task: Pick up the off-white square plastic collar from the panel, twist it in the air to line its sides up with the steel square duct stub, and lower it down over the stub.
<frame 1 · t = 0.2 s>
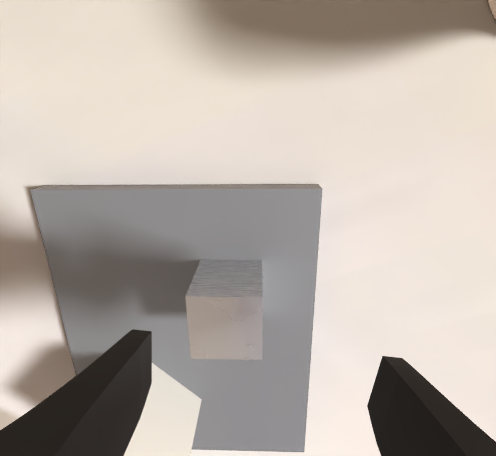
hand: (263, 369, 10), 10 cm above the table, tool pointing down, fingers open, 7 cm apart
duct stub: (233, 277, 20), resting on duct panel
collar: (144, 398, 22), point 1 cm above the table, touching duct panel
duct panel: (191, 328, 21), on the table
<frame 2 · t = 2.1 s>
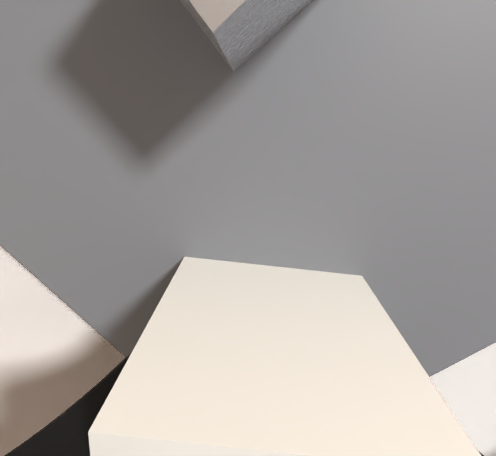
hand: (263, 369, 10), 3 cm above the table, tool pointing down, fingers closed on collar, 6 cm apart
collar: (262, 339, 11), point 1 cm above the table, touching duct panel, gripper
duct panel: (251, 161, 10), on the table
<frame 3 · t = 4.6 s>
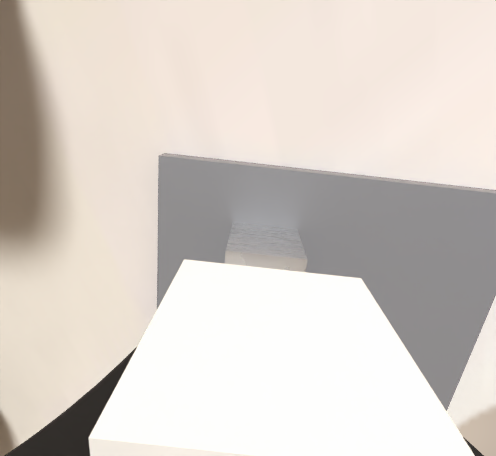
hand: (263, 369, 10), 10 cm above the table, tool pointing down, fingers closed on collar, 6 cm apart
duct stub: (261, 247, 19), resting on duct panel
collar: (262, 341, 11), point 8 cm above the table, touching gripper
duct panel: (316, 296, 20), on the table
when the fingers open (4 cm above the table, at t = 7.1 s): collar drops 1 cm, resting on duct panel.
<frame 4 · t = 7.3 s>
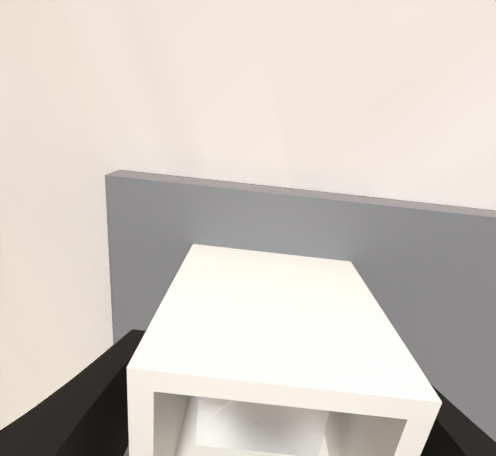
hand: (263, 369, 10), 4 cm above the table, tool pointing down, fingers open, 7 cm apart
duct stub: (262, 300, 13), resting on duct panel
collar: (262, 319, 12), point 1 cm above the table, touching duct panel
duct panel: (340, 365, 14), on the table
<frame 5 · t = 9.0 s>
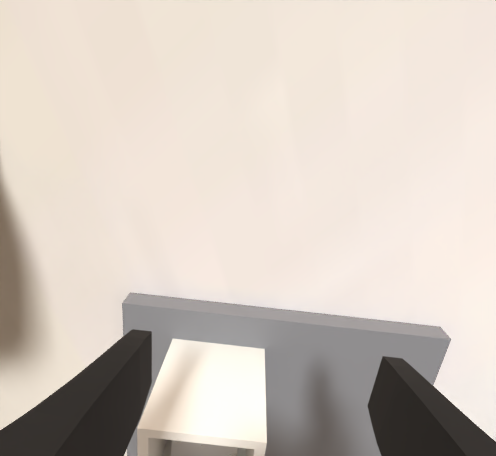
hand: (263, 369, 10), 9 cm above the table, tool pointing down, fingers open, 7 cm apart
duct stub: (217, 364, 22), resting on duct panel
collar: (215, 379, 20), point 1 cm above the table, touching duct panel
duct panel: (269, 403, 22), on the table
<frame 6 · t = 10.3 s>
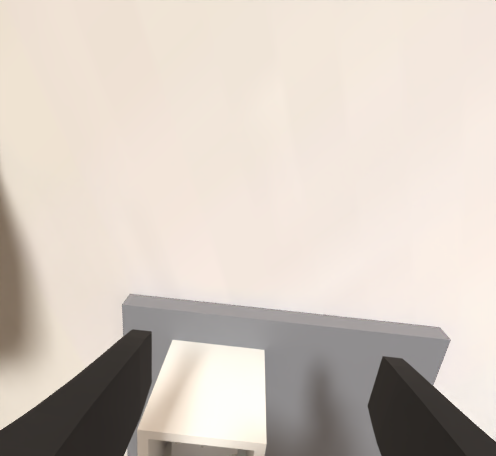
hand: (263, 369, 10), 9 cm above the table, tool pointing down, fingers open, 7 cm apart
duct stub: (217, 365, 22), resting on duct panel
collar: (215, 380, 20), point 1 cm above the table, touching duct panel
duct panel: (269, 404, 23), on the table
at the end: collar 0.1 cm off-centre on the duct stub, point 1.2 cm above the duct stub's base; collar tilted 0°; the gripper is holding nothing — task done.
